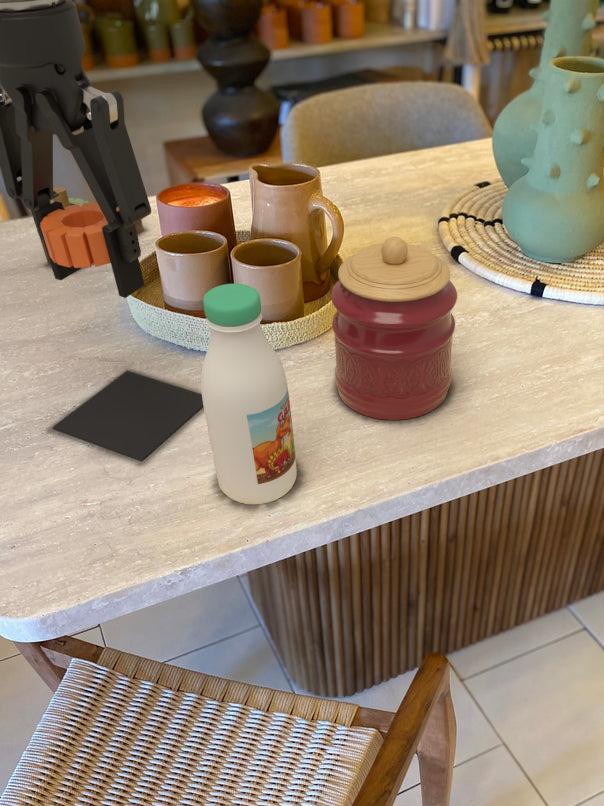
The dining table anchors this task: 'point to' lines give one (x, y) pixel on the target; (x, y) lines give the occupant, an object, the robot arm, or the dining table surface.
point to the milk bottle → (246, 400)
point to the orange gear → (76, 236)
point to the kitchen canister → (393, 330)
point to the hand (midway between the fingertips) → (99, 281)
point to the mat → (132, 415)
